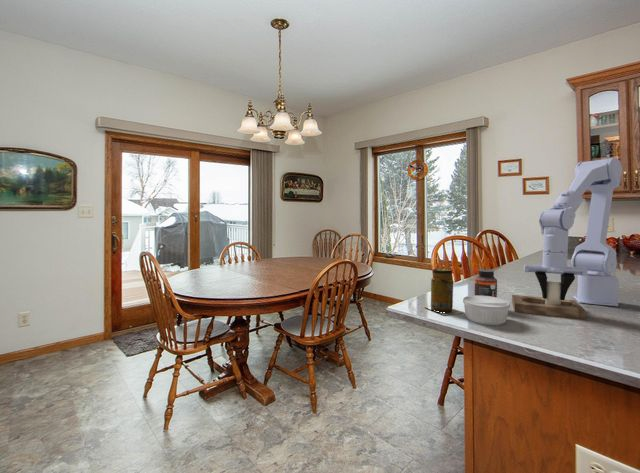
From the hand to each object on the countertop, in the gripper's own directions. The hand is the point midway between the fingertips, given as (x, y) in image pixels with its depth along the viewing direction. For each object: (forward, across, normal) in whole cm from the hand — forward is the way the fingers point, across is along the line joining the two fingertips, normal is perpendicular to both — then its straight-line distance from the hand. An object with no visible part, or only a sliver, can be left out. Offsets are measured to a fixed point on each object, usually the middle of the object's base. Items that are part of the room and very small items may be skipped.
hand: (553, 298), depth 94 cm
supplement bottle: (+4, -17, -5) cm, 18 cm away
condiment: (+4, -28, -13) cm, 31 cm away
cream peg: (+3, 0, 0) cm, 3 cm away
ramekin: (+4, -17, -17) cm, 24 cm away
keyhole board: (+4, -2, 0) cm, 4 cm away
